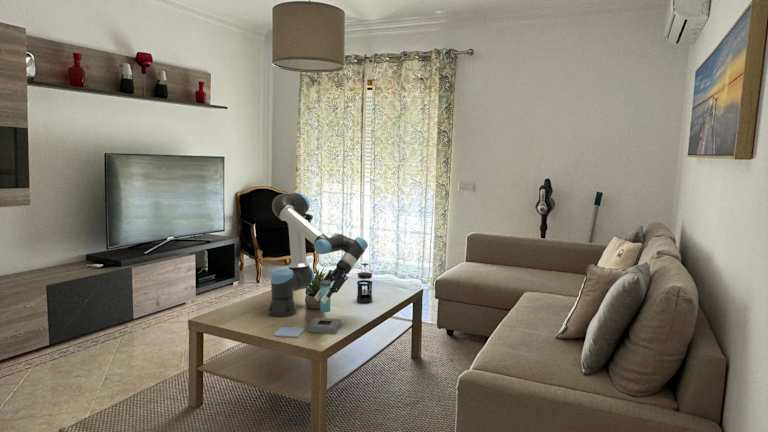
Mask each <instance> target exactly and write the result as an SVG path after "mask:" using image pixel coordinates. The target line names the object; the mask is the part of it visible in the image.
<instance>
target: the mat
mask: <svg viewBox="0 0 768 432" xmlns="http://www.w3.org/2000/svg"><path fill="white" fill-rule="evenodd" d="M304 330H305V331H306V328H302V327H289V326H281V327H280V328H279V329H278V330H276V332H275V333H274V334H273V337H274V336H279V337H278V338H288V337H294V338H293V339H299V338H300V336H301V335H302V334H303V333H304V332H305V331H304ZM298 337H299V338H298Z"/></svg>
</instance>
